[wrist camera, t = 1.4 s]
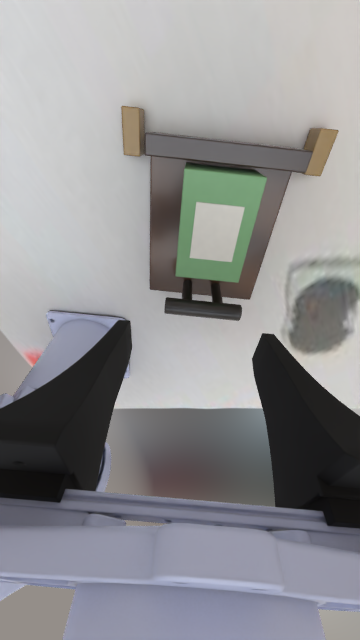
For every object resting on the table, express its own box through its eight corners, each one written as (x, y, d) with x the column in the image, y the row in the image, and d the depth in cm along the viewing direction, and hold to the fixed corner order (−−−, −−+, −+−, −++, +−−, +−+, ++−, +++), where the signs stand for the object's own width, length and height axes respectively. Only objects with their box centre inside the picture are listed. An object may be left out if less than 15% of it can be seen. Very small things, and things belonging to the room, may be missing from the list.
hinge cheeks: (310, 172, 16) (320, 176, 14) (129, 152, 15) (123, 155, 14) (326, 130, 14) (339, 130, 13) (127, 107, 14) (120, 105, 13)
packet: (233, 264, 19) (238, 283, 17) (177, 258, 19) (175, 277, 17) (256, 169, 15) (268, 177, 13) (186, 162, 15) (184, 168, 12)
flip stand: (248, 295, 22) (259, 330, 18) (150, 285, 22) (141, 318, 18) (295, 147, 15) (330, 153, 11) (152, 132, 15) (137, 132, 11)
